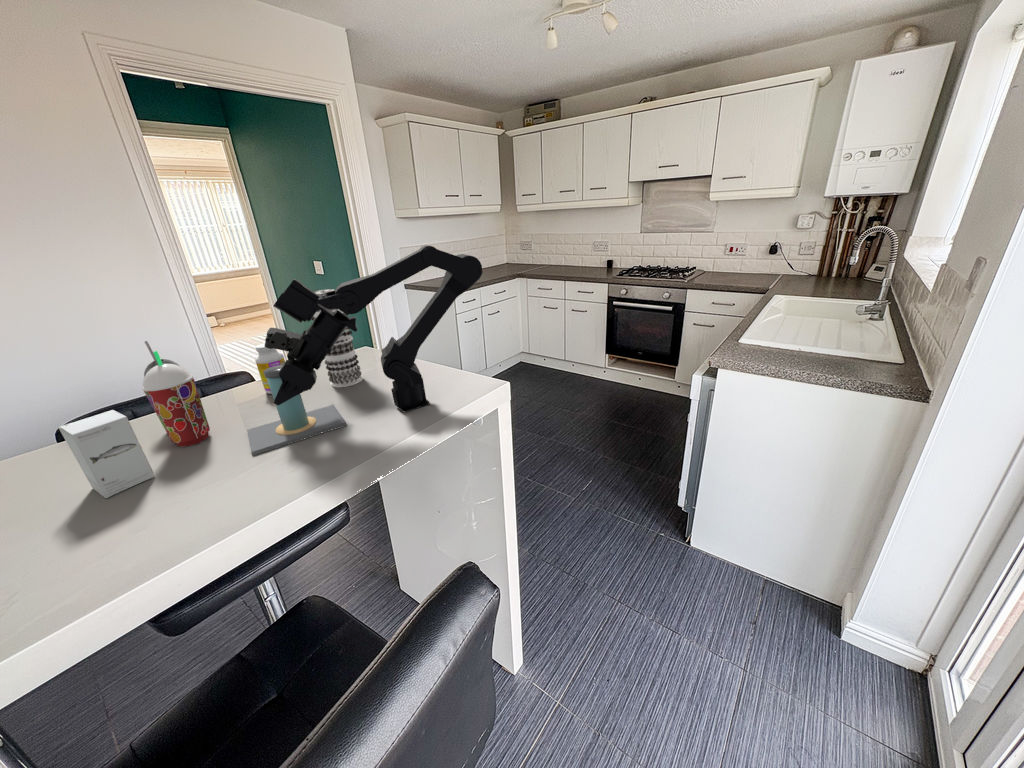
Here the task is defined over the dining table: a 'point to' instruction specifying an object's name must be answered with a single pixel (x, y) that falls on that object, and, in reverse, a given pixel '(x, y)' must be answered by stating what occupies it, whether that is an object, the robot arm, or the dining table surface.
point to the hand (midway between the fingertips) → (279, 395)
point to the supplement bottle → (267, 362)
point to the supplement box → (108, 452)
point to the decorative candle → (342, 357)
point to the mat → (277, 436)
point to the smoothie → (176, 403)
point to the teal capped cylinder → (287, 403)
